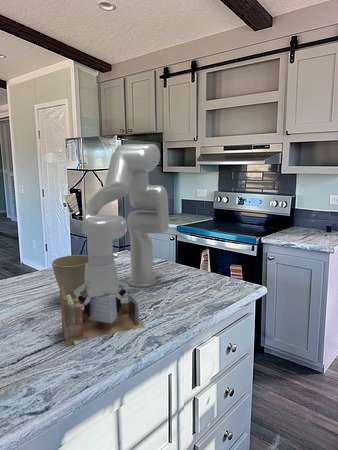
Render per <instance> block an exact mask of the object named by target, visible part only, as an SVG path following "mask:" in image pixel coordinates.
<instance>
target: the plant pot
mask: <svg viewBox="0 0 338 450" xmlns="http://www.w3.org/2000/svg"><path fill="white" fill-rule="evenodd" d="M87 263H88V255H85V254H84V255H83V254H73V255H65V256H60V257H57V258H55V259H53V260H52V261H51V267H52V270H53V274H54V278H55V280H56V283H57V286H58V288H59V286H63V287H64V290H65V293H66V295H71V298H77V297H76V295H75V294H74V290H76V289H77V288H78V287H80V286H81V285H83V284H84V275H85V266H86V264H87ZM59 290H60V288H59ZM80 295H81V296H83V297H84V296H85V295H86V293H85V289H84V290H83V291H82V292H80ZM79 301H80V300H79ZM80 303H82V302H81V301H80Z"/></svg>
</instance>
